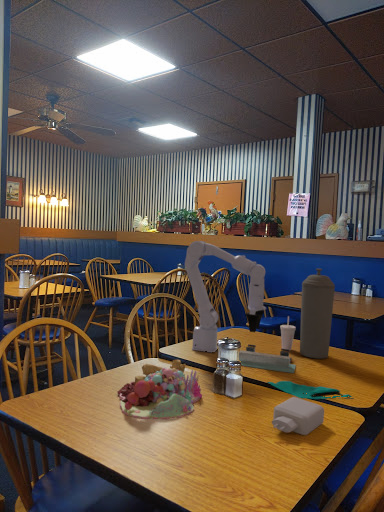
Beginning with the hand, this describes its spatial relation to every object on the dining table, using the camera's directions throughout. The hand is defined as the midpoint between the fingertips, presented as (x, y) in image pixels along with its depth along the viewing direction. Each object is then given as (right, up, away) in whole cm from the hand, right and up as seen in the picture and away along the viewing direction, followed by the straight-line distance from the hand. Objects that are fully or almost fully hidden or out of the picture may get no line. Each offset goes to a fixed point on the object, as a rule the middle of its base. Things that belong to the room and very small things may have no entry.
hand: (254, 329), depth 159 cm
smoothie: (+15, -10, +11) cm, 21 cm away
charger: (0, -13, -60) cm, 62 cm away
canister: (+24, -11, +4) cm, 27 cm away
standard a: (-2, -10, -1) cm, 10 cm away
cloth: (+10, -13, -36) cm, 39 cm away
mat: (+1, -11, -12) cm, 16 cm away
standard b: (+11, -11, -5) cm, 16 cm away
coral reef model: (-33, -11, -47) cm, 58 cm away
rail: (+1, -10, -12) cm, 16 cm away
